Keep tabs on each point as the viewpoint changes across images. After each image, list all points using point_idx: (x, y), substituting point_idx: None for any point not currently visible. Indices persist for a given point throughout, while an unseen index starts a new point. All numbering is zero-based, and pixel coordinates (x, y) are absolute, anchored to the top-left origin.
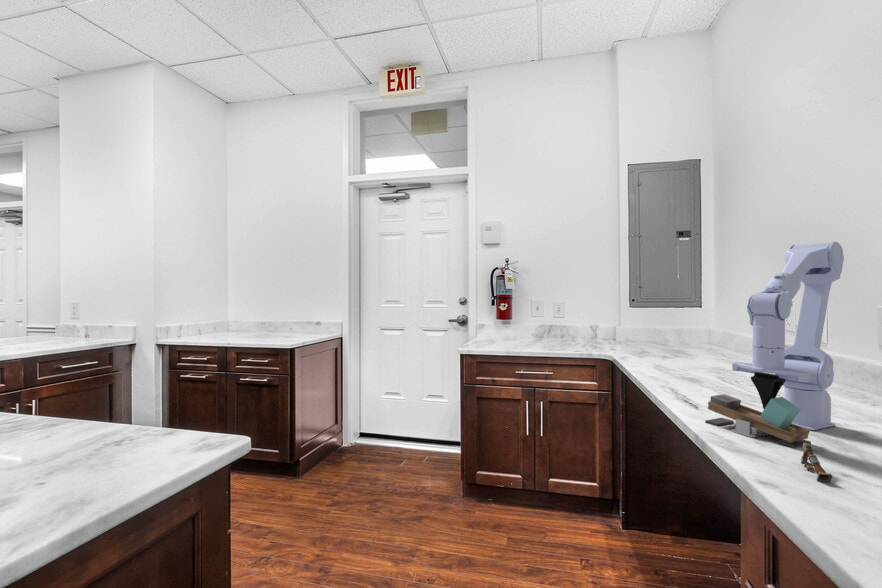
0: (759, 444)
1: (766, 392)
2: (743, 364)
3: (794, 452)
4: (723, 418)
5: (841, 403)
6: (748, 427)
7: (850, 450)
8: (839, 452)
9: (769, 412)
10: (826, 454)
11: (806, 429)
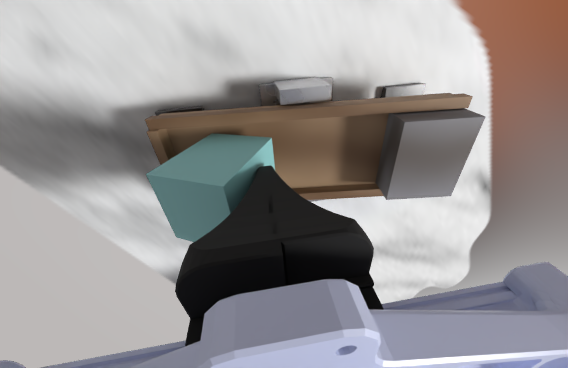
0: (205, 33)
1: (250, 203)
2: (541, 358)
3: (117, 71)
4: None
5: None
6: (280, 85)
7: (134, 220)
8: (119, 188)
9: (234, 152)
10: (101, 146)
11: None
